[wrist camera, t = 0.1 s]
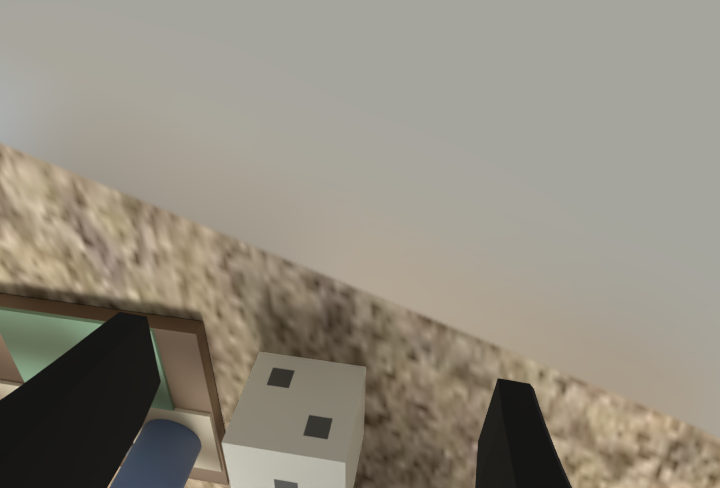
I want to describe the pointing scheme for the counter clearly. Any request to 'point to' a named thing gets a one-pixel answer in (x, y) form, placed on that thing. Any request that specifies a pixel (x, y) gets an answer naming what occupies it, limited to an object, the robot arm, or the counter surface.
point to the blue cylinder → (159, 457)
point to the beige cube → (297, 424)
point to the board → (173, 355)
